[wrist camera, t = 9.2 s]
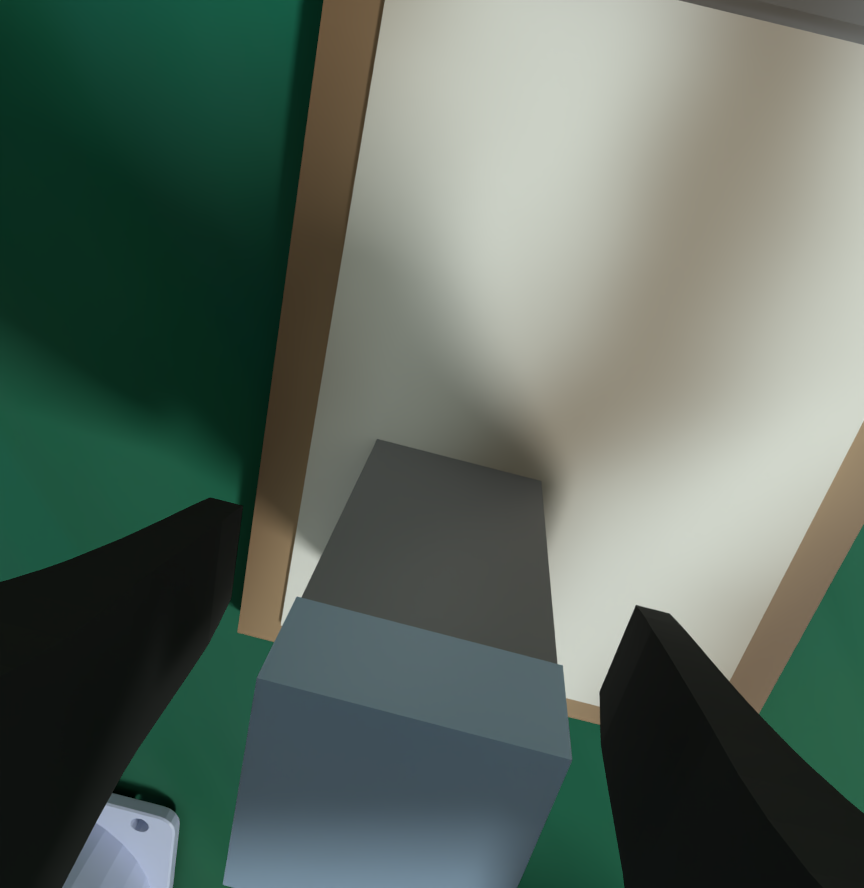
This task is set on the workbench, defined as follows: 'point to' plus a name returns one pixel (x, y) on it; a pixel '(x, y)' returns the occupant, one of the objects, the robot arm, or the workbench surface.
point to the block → (410, 692)
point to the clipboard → (587, 303)
